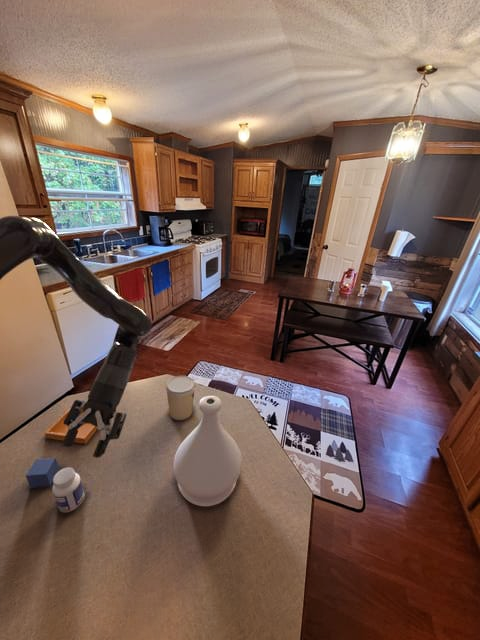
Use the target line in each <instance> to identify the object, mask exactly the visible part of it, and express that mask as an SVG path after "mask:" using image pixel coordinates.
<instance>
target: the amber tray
mask: <svg viewBox="0 0 480 640" xmlns="http://www.w3.org/2000/svg"><path fill="white" fill-rule="evenodd" d="M70 409H71V407H69V408H68V409H67V410H66V411H65V413H63V414H62V415H61V416H60V417H59V418H58V419H57V420H56V421H55V422H54V423H53V424H52V425H51V426H50V427H49V428H48V429H47V430H46V431H44V436H45V438H46V439H50V440H58V441H62V442H63V441H64V438H65V436H66V434H67V432H68V429H69V428H68V426H67V425H65V424H64V420H65V418H66V416H67V414H68V413H69V411H70ZM82 413H84V412H83V409H82V410H81V412H80V414H79V416H80V415H81V414H82ZM79 416H78V417H79ZM77 430H79V431H78V433H77V436H76V438H75V440H74V442H73V443H77V444H78V443H79V444H84V445H86V444H87V443H88V442H89V440H90V439H91V438H92V437H93V435H94V434H95V432H96V431H97V430H98V426H94V425H92V424H88V423H87V424H84V425H83V426H82V427H80V428H79V429H77Z"/></svg>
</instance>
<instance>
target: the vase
mask: <svg viewBox="0 0 480 640" xmlns="http://www.w3.org/2000/svg"><path fill="white" fill-rule="evenodd" d="M222 405H223V403H222V400H221V399H220V398H219V397H218V396H216V395H205V396H203V397H201V399H200V400H199V402H198V408H199V410H200V412H202V416H201V420H200V422H199V423H198V424H197V426H195V428H194V429H193V430H192V431H191V432H190V433H189V434H188V435H187V436H186V438H184V439H183V441H182V442H181V444H180V445H179V447H178V448H177V450H176V453H175V455H174V458H173V473H174V477H175V480H176V482H177V486H178V489H179V492H180V493H181V495H182V497H184V499H185V500H187V501H188V502H189V503H191V504H193V505H195V506H198V507H212V506H215V505H218V504H221V503H222V502H224V501H225V500H226V499H228V498H229V497H230V496H231V494H232V493H233V491H234V490H235V487H236V484H237V480H238V479H239V477H240V475H241V471H242V465H243V459H242V453H241V450H240V448H239V445H238V444H237V442H236V441H235V440H234V438H233V437H232V436H231V435H230V434H229V432H228V431H227V430H226V428H224V427H223V425H222V424H221V422H220V421H219V417H218V413H219V411H221V409H222Z"/></svg>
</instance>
